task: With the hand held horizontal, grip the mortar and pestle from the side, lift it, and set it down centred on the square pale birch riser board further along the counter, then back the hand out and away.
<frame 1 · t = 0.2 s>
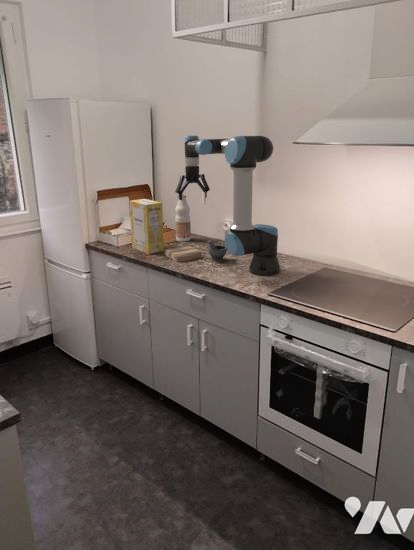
hand: (193, 205, 252), 27 cm above the worktop, tool pointing down, fingers open, 13 cm apart
pasta box: (147, 249, 269), on the worktop
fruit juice: (183, 240, 289), on the worktop
mortar and pestle: (216, 260, 246), on the worktop
birch riser: (182, 256, 253), on the worktop
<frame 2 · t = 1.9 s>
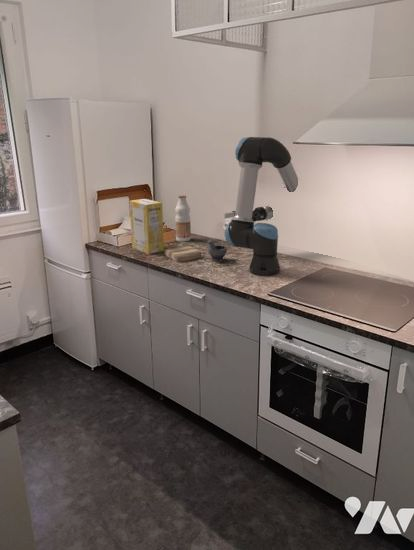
hand: (231, 217, 243), 22 cm above the worktop, tool horizontal, fingers open, 13 cm apart
nothing on the worktop moved.
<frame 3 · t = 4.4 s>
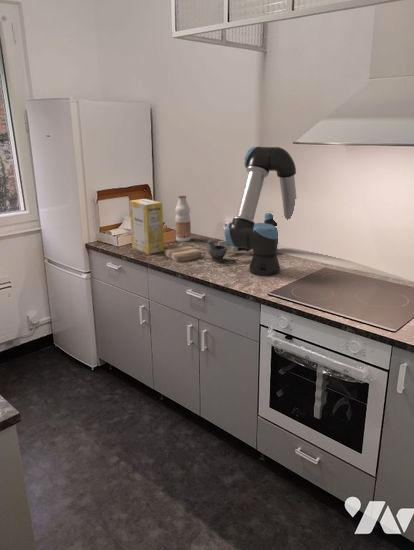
hand: (225, 246, 247), 6 cm above the worktop, tool horizontal, fingers open, 13 cm apart
nothing on the worktop moved.
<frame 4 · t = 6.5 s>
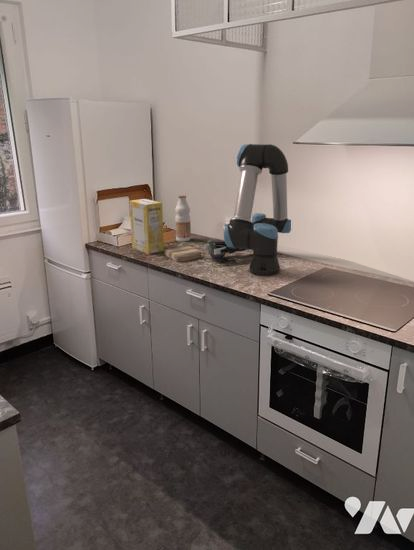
hand: (209, 249, 242), 6 cm above the worktop, tool horizontal, fingers closed on mortar and pestle, 10 cm apart
mortar and pestle: (216, 260, 246), on the worktop, touching gripper
everything else where it was.
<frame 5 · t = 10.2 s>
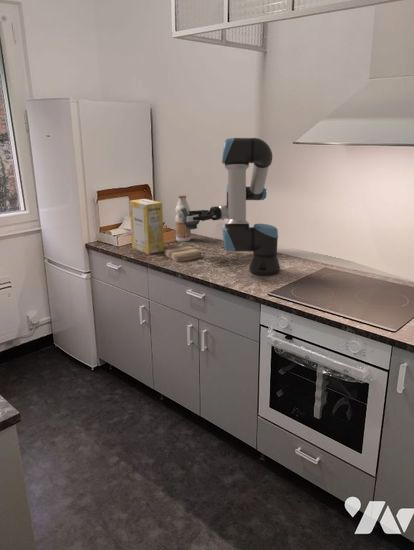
hand: (182, 217, 244), 22 cm above the worktop, tool horizontal, fingers closed on mortar and pestle, 10 cm apart
mortar and pestle: (190, 228, 248), point 16 cm above the worktop, touching gripper
everything else where it was.
when the fingers open (11 cm above the worktop, at t = 13.7 s): mortar and pestle drops 1 cm, resting on birch riser.
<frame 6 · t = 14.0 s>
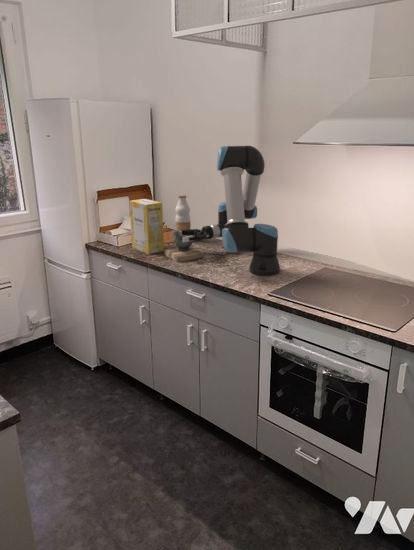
hand: (176, 237, 248), 11 cm above the worktop, tool horizontal, fingers open, 13 cm apart
mortar and pestle: (182, 250, 252), point 3 cm above the worktop, touching birch riser
everything else where it was.
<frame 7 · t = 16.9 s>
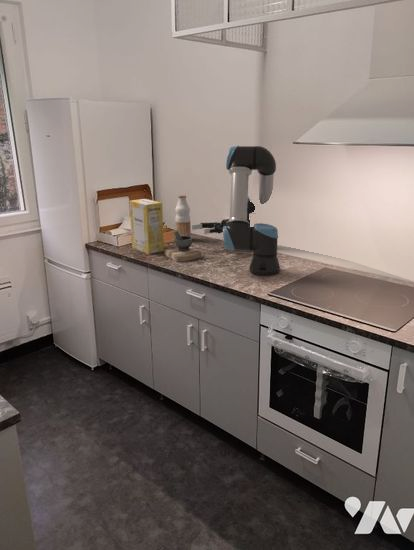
hand: (197, 229, 254), 14 cm above the worktop, tool horizontal, fingers open, 13 cm apart
nothing on the worktop moved.
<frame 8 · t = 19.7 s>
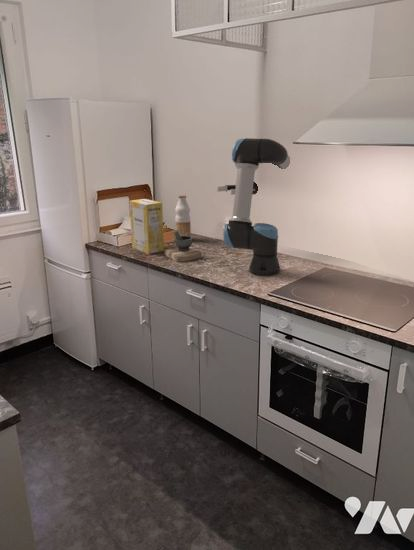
hand: (223, 190, 249), 35 cm above the worktop, tool horizontal, fingers open, 13 cm apart
nothing on the worktop moved.
at the end: mortar and pestle inside the target area on the birch riser (0.1 cm from its centre), point 3.3 cm above the birch riser's base; mortar and pestle tilted 0°; the gripper is holding nothing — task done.
